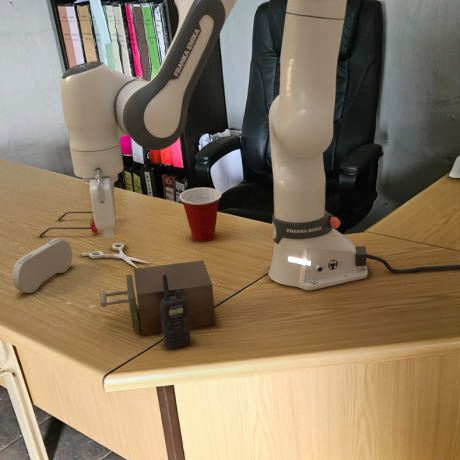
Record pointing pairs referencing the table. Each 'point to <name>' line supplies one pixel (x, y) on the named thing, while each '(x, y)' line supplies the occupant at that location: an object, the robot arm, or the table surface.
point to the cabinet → (179, 278)
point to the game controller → (41, 265)
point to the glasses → (76, 228)
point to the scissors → (120, 255)
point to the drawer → (124, 301)
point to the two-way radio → (174, 318)
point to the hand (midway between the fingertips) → (109, 235)
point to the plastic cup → (201, 211)
